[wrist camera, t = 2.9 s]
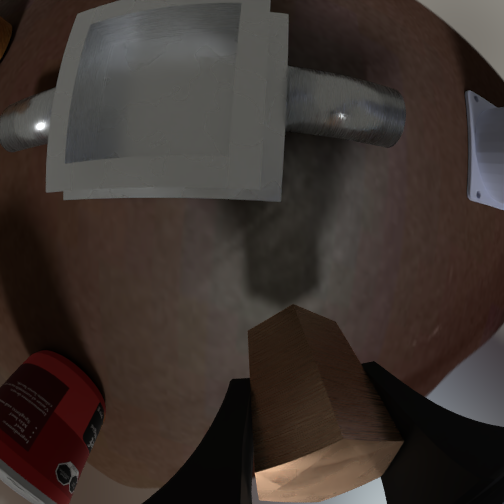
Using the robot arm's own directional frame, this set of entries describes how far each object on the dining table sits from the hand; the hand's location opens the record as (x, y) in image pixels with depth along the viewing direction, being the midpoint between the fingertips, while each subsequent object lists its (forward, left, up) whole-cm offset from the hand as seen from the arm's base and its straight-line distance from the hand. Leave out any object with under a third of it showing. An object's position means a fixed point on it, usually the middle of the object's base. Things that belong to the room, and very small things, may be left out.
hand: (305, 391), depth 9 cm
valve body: (+6, -11, -6) cm, 14 cm away
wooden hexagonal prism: (0, 0, -3) cm, 3 cm away
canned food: (+16, +8, -6) cm, 19 cm away
